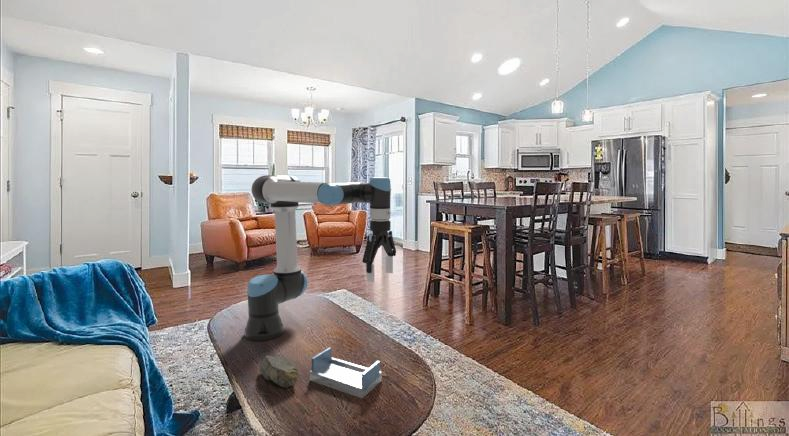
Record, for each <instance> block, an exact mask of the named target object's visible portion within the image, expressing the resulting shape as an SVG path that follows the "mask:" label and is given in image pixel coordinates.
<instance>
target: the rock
mask: <svg viewBox="0 0 789 436" xmlns="http://www.w3.org/2000/svg"><path fill="white" fill-rule="evenodd" d="M259 370H260V373H261V374H262V376H263V378H264V379H265V380H266V381H272V382H273V383H274V384H276V385H278V386H280V387H281V388H287V389H288V388H289V387H294V386H296V383H297V381H298V379H299V377H300V375H299V372H298V371H299V370H298V368H297V366H296V365H295V364H293V363H292V362H291V361H290V360H289V359H288V358H287V357H285V356H284V357H283V356H276V357H275V356H274V357H273V356H270V355H266V356H265V357H264V359H263V360H262V362H261V363H260V366H259Z"/></svg>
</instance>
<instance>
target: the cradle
mask: <svg viewBox="0 0 789 436" xmlns="http://www.w3.org/2000/svg"><path fill="white" fill-rule="evenodd" d="M382 377H383V376H382V371H381V361H380V360H376V361H375V362H374V363H373V364H372V365H371V366H369V367H366V366H362V365H359V364H356V363H352V362H350V361H349V362H348V361H346V360H343V359H339V358H335V357H333V356H332V347H330V346H329V347H328V348H326V349H324V350H323V351H321V352H319V353H317V354H316V355H315V356H313V357H311V370H310V371H309V381H311V382H313V383H316V384H319V385H321V386H325V387H327V388H330V389H333V390H336V391H338V392H339V391H340V392H341V393H345V394H348V395H350V396H353V397H357V398H360V399H364V397H366V395H368V394H369V393H370V392H372V390H373V389H374V388H376V387H377V386H378V385H379V384H380V383H381V382H382V380H383V379H382Z"/></svg>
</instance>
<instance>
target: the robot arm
mask: <svg viewBox="0 0 789 436" xmlns="http://www.w3.org/2000/svg"><path fill="white" fill-rule="evenodd" d="M391 187H392V186H391V179H390V178H389V177H388V176H386V177H385V176H384V177H382V176H381V177H380V176H379V177H378V176H377V177H376V176H374V177H370V178H369V182H362V181H361V182H357V181H347V182H318V181H317V182H311V181H301V180H299V178H298V177H296V175H295V176H294V175H290V174H289V175H288V174H284V175H283V174H282V175H281V174H279V175H275V174H274V175H271V174H270V175H269V174H268V175H266V174H265V175H261V176H259V177H257V178H256V179H255V180H254V181H253V183H252V185H251V193H252V197H253V198H254V199H255V200H256V201H257V202H259V203H260V204H267V205H268V204H269V205H270V206H269V207H270V208H271V209H272V210H273V211H274V227H275V228H274V229H275V230H274V231H275V246H276V248H275V249H276V250H275V251H276V253H275V254H276V267H274V269H273V274H271V273H269V274H268V273H267V274H263V275H262V274H260V275H257V276H255V277H253V278H251V279H250V280H249V281H248V282H247V283H248V284H247V291H246V293H247V306H248V307H247V308H248V317H247V322H246V326H245V329H244V337H245V339H246V340H249V341H253V342H254V341H256V342H261V341H268V340H273V339H276V338H278V337H280V336H281V335H283V334H284V324H283V321H282V319H281V317H280V314H279V305H280V304H283V303H285V302H288V301H290V300H294V299H297V298H299V297H301V296H302V295H304V293H305V292H306V291H307V287H308V278H307V275H306V273H305V272H303V271H302V267H301V266H299V264H298V250H297V249H298V247H297V225H296V224H297V222H296V210H297V209H298V208H299V203H307V204H323V205H324V206H336V205H337V206H338V205H345V204H346V205H347V204H357V203H359V204H362V203H363V204H369V220H370V221H369V230H370V231H371V232H372V234H367V238H366V244H365V248H364V253H363V256H362V261H361V262H362V263H363V264H365V265H366V267H365V268H366V271H365V273H366V282H370V283H374V282H375V263H374V261H375V258H376V255H377V254H378V250H379V249H380V248H381V246H382V248H383V249H384V251H385V254H386V256H385V273H387V274H393V273H394V257H396V255H397V250H396V249H397V248H396V245H395V242H394V238H393V231H392V230H391V223H392V222H391V220H390V219H391V215H392V211H391V195H392V193H391V191H392V188H391Z"/></svg>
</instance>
